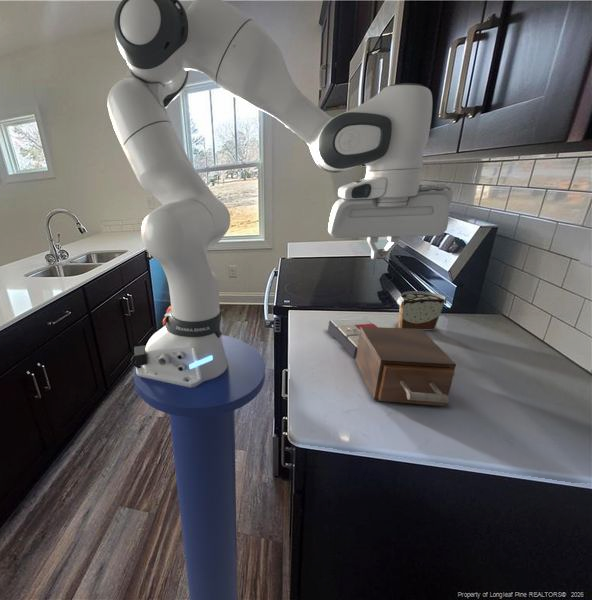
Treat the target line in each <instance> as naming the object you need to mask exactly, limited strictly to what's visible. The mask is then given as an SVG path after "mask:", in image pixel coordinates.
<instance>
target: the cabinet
mask: <svg viewBox="0 0 592 600" xmlns="http://www.w3.org/2000/svg"><path fill="white" fill-rule="evenodd" d="M355 363H356V366H357V368H358V370H359V372H360V374H361V376H362V378H363V380H364V382H365V385H366V387H367V389H368V391H369V393H370V395H371V397H372V400H373V401H379V402H381V401H380V400H379V398H378V394H379V389H380V383H381V378H382V372H383V367H384V364H398V365H415V366H432V367H443V368H452V369H453V371H454V372H455V370H456V367H457V364H456V362H454V360H453V359H452V358H451V357H450V356H448V354H447V353H446V352H445V351H444V350H443V349H442V348H441V347H440V346H439V345H438V344H437V343H436V342H434V340H433V339H432V338H431V337H430V336H429V335H428V334H427V333H426V332H425V330H422V329H410V328H398V327H381V326H380V327H379V326H377V327H360V334H359V341H358V348H357V355H356V358H355Z"/></svg>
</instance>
